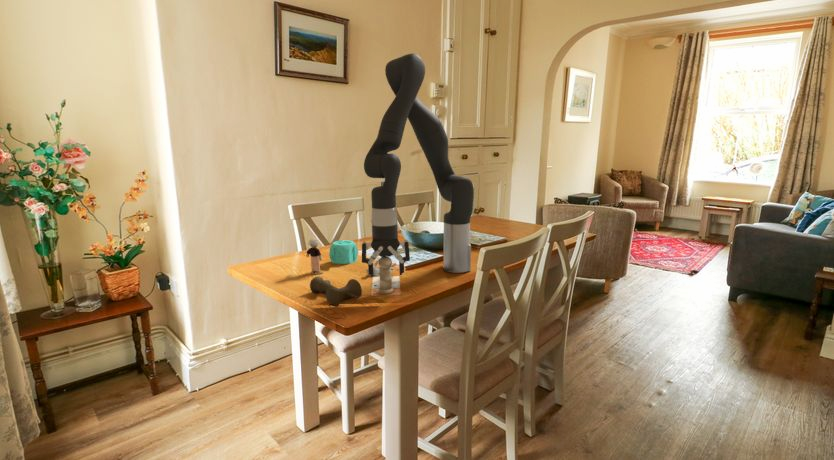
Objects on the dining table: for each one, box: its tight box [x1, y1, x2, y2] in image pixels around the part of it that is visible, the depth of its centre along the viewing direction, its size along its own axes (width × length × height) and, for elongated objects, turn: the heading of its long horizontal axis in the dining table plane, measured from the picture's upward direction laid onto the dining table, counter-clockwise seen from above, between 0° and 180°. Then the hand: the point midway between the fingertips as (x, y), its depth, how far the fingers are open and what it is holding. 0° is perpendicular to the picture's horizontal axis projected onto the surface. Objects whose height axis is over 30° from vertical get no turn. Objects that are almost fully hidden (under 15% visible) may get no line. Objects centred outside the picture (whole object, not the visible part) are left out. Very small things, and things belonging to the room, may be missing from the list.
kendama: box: [309, 276, 363, 308], centre depth 132 cm, size 6×10×20 cm
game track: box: [370, 275, 401, 297], centre depth 141 cm, size 10×18×1 cm, turn 3°
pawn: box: [378, 256, 394, 294], centre depth 134 cm, size 4×4×11 cm
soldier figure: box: [365, 259, 399, 277], centre depth 153 cm, size 8×5×12 cm
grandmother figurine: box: [306, 237, 324, 275], centre depth 156 cm, size 8×4×13 cm, turn 65°
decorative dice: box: [328, 239, 359, 265], centre depth 168 cm, size 8×8×8 cm
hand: (386, 275), depth 134 cm, fingers open, 8 cm apart
